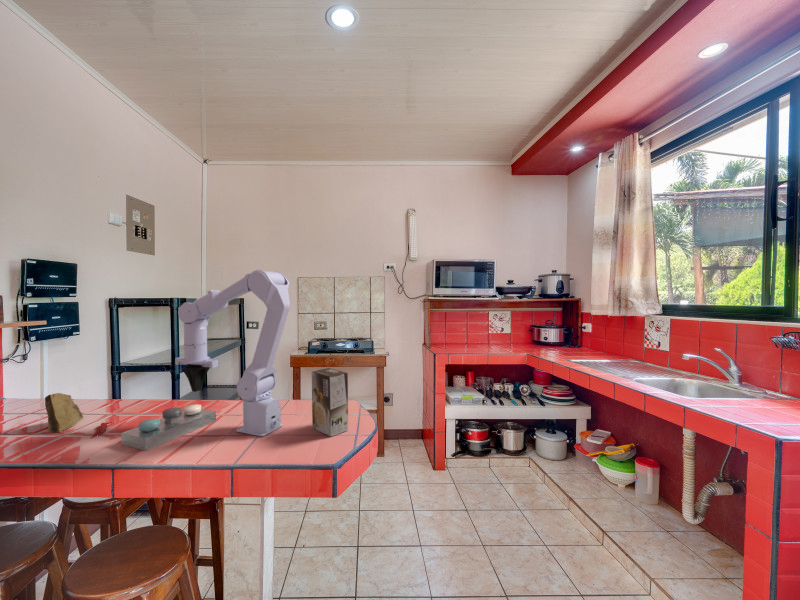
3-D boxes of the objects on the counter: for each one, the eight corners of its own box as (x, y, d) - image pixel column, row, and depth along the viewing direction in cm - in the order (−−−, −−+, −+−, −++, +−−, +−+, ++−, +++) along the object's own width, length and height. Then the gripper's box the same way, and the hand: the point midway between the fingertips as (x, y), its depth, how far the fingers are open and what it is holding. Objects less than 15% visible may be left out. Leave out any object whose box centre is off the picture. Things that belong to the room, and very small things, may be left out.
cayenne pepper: (107, 423, 102) (107, 417, 102) (124, 423, 103) (124, 416, 102) (74, 441, 90) (74, 434, 90) (93, 440, 91) (93, 433, 91)
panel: (216, 421, 103) (215, 411, 103) (145, 450, 84) (145, 438, 84) (194, 417, 106) (193, 407, 106) (121, 444, 87) (121, 432, 87)
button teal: (164, 434, 91) (164, 419, 90) (146, 440, 86) (146, 426, 86) (152, 431, 92) (152, 417, 92) (135, 438, 88) (134, 423, 88)
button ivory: (204, 418, 102) (204, 405, 102) (191, 423, 98) (190, 410, 98) (194, 416, 103) (193, 403, 103) (180, 421, 99) (179, 408, 99)
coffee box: (349, 430, 96) (349, 372, 96) (330, 437, 92) (330, 376, 91) (329, 421, 102) (329, 367, 102) (310, 428, 98) (310, 371, 97)
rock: (72, 408, 107) (31, 415, 97) (87, 387, 106) (47, 392, 97) (90, 434, 104) (49, 443, 94) (106, 412, 103) (66, 419, 94)
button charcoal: (185, 421, 96) (185, 408, 96) (170, 427, 92) (170, 414, 92) (174, 419, 98) (174, 406, 98) (158, 425, 94) (158, 411, 93)
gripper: (226, 343, 102) (227, 389, 102) (190, 340, 107) (191, 384, 107) (205, 347, 95) (206, 396, 96) (167, 344, 100) (169, 391, 101)
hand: (196, 390), depth 101 cm, fingers closed
